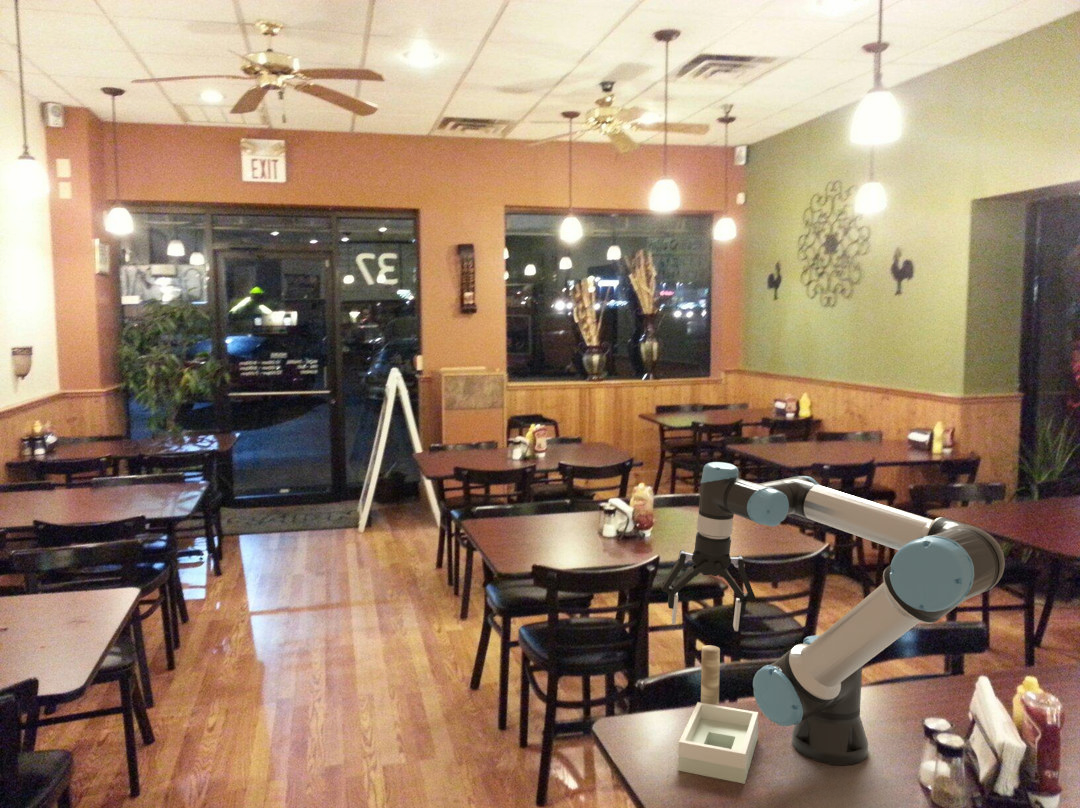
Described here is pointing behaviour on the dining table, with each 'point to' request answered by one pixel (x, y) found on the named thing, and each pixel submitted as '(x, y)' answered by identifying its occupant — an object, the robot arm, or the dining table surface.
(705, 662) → the peg
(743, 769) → the bore tray
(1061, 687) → the dining table surface
